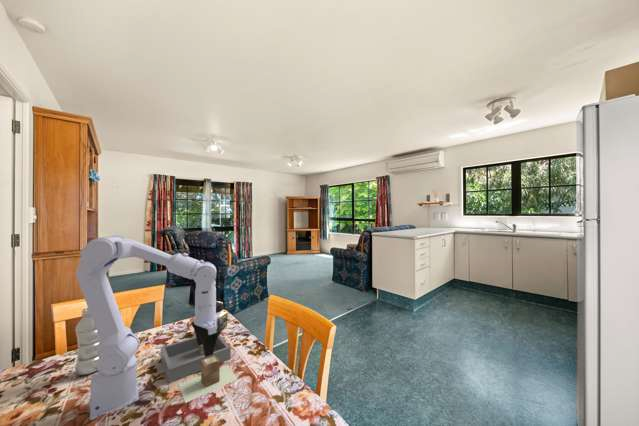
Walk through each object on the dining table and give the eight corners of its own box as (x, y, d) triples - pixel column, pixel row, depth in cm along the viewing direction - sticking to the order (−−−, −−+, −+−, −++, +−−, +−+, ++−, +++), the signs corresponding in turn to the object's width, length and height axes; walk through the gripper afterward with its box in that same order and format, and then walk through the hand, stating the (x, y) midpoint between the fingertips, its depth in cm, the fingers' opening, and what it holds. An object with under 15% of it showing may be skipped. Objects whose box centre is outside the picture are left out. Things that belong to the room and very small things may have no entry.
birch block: (201, 355, 83) (201, 338, 83) (198, 350, 86) (198, 333, 86) (213, 351, 86) (213, 334, 86) (209, 346, 89) (209, 330, 89)
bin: (168, 385, 69) (168, 369, 69) (160, 360, 81) (160, 347, 81) (230, 360, 81) (230, 347, 81) (215, 342, 93) (215, 330, 93)
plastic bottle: (105, 371, 76) (106, 308, 76) (74, 381, 71) (75, 314, 71) (103, 362, 80) (103, 303, 81) (74, 372, 75) (75, 308, 76)
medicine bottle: (217, 335, 98) (217, 306, 99) (202, 334, 100) (202, 305, 100) (227, 327, 105) (227, 300, 106) (213, 326, 107) (213, 299, 107)
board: (185, 405, 62) (185, 402, 62) (178, 386, 69) (178, 384, 69) (238, 380, 71) (238, 378, 71) (227, 366, 78) (227, 364, 78)
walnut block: (204, 387, 67) (205, 366, 67) (201, 380, 70) (201, 359, 70) (219, 381, 70) (219, 360, 70) (215, 374, 73) (215, 354, 73)
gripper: (227, 307, 68) (227, 355, 68) (212, 295, 79) (212, 335, 79) (200, 314, 64) (200, 364, 64) (188, 299, 75) (188, 343, 75)
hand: (205, 349), depth 71 cm, fingers open, 7 cm apart
